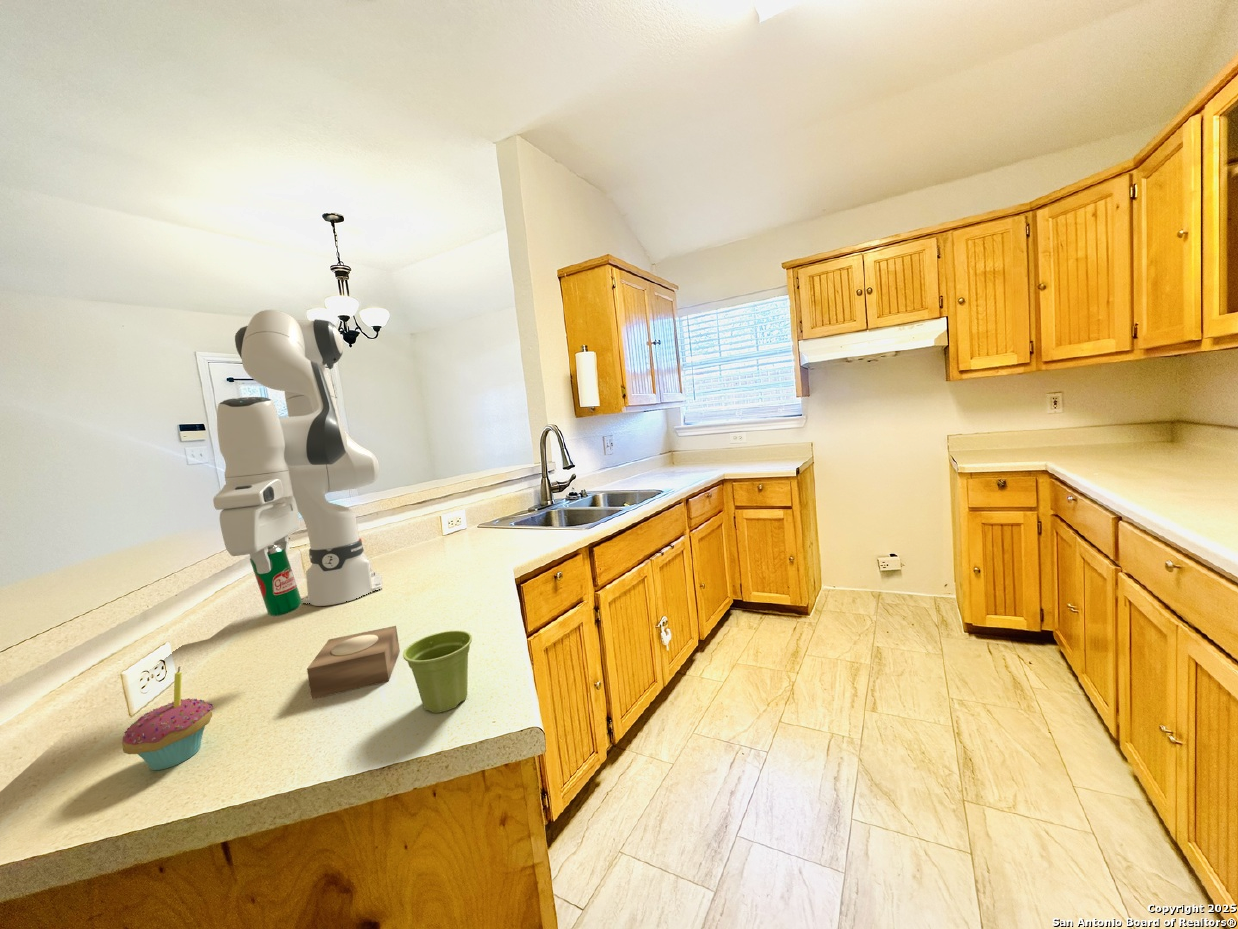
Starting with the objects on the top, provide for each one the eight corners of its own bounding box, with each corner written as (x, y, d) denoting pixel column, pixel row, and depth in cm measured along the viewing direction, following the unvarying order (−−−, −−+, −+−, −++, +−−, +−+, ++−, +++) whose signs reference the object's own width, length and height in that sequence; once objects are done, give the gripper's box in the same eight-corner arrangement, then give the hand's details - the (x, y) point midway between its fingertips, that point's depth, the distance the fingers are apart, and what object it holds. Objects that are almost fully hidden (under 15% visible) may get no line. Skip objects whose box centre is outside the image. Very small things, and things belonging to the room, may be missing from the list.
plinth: (333, 666, 81) (328, 638, 81) (399, 651, 85) (395, 624, 84) (311, 699, 71) (306, 667, 70) (388, 681, 74) (384, 650, 74)
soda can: (285, 616, 78) (263, 551, 77) (262, 619, 79) (240, 555, 78) (309, 602, 83) (289, 541, 82) (287, 605, 84) (267, 545, 83)
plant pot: (413, 694, 70) (405, 639, 69) (477, 676, 73) (470, 624, 72) (408, 729, 61) (399, 668, 60) (481, 708, 64) (473, 649, 63)
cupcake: (226, 727, 66) (211, 648, 64) (206, 763, 58) (189, 674, 57) (145, 752, 62) (128, 668, 61) (113, 794, 54) (93, 699, 53)
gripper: (265, 485, 88) (277, 554, 89) (206, 501, 68) (222, 589, 70) (303, 481, 90) (314, 549, 91) (255, 495, 70) (270, 581, 72)
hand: (273, 566), depth 80 cm, fingers closed on soda can, 5 cm apart
